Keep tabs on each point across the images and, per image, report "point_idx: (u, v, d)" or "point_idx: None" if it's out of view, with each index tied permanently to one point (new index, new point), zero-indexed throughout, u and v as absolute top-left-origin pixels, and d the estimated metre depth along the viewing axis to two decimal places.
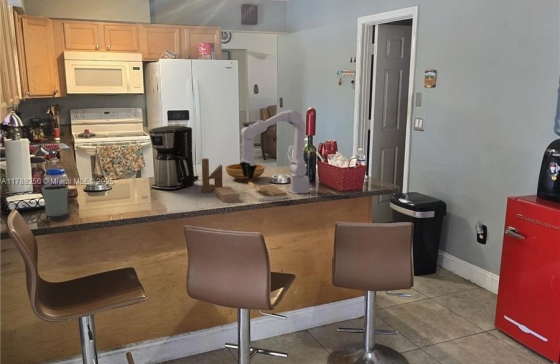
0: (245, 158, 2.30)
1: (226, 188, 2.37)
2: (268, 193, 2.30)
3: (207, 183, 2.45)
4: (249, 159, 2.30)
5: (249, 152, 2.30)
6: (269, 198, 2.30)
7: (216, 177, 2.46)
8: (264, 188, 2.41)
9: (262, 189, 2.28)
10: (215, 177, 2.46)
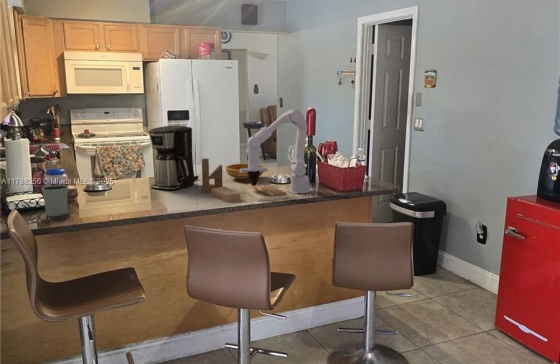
0: None
1: (223, 188, 2.37)
2: (268, 193, 2.30)
3: (207, 183, 2.45)
4: (248, 167, 2.38)
5: (248, 160, 2.37)
6: (269, 198, 2.30)
7: (216, 177, 2.46)
8: (264, 188, 2.41)
9: (262, 189, 2.28)
10: (215, 177, 2.46)
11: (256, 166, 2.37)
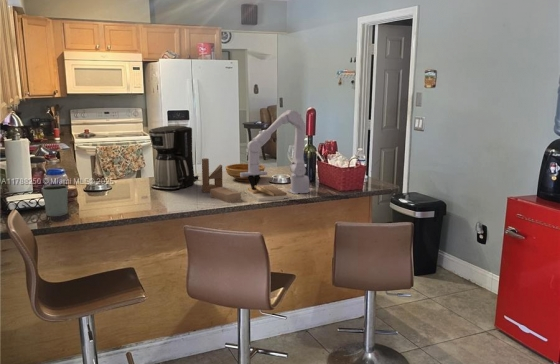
0: None
1: (222, 188, 2.36)
2: (268, 193, 2.30)
3: (207, 183, 2.45)
4: (248, 171, 2.39)
5: (248, 164, 2.38)
6: (269, 198, 2.30)
7: (216, 177, 2.46)
8: None
9: (262, 189, 2.28)
10: (215, 177, 2.46)
11: (256, 170, 2.37)
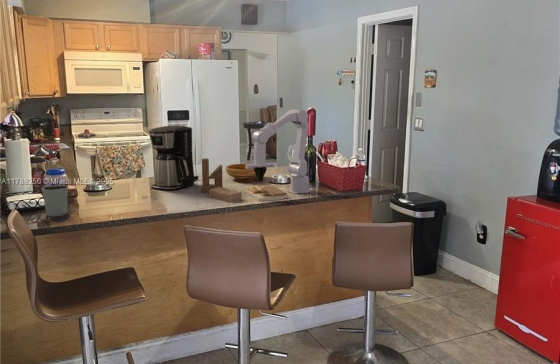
0: None
1: (221, 189, 2.36)
2: (268, 193, 2.30)
3: (207, 183, 2.45)
4: (254, 163, 2.29)
5: (254, 156, 2.28)
6: (269, 198, 2.30)
7: (216, 177, 2.46)
8: None
9: (262, 189, 2.28)
10: (215, 177, 2.46)
11: (262, 162, 2.28)
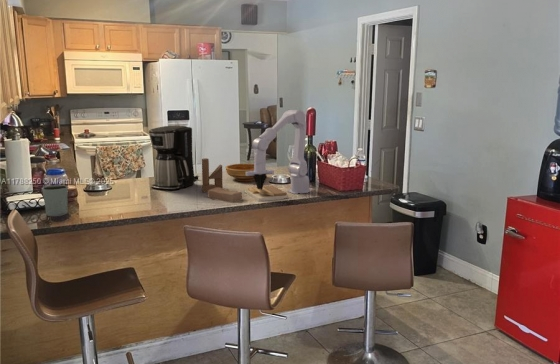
0: None
1: (219, 189, 2.35)
2: (268, 194, 2.30)
3: (207, 183, 2.45)
4: (254, 170, 2.30)
5: (254, 163, 2.29)
6: (269, 198, 2.30)
7: (216, 177, 2.46)
8: None
9: (261, 191, 2.28)
10: (215, 177, 2.46)
11: (262, 169, 2.28)
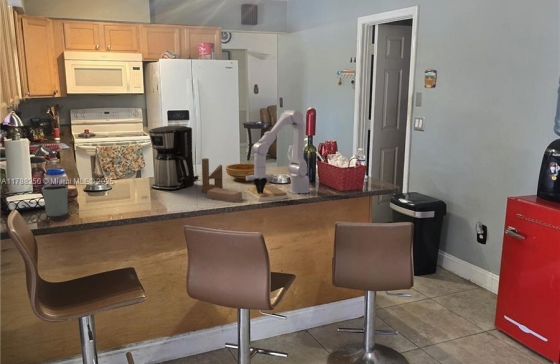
0: None
1: (218, 189, 2.35)
2: (268, 196, 2.30)
3: (207, 183, 2.45)
4: (254, 174, 2.30)
5: (254, 167, 2.29)
6: (269, 198, 2.30)
7: (216, 177, 2.46)
8: (264, 189, 2.41)
9: (261, 195, 2.29)
10: (215, 177, 2.46)
11: (263, 173, 2.29)
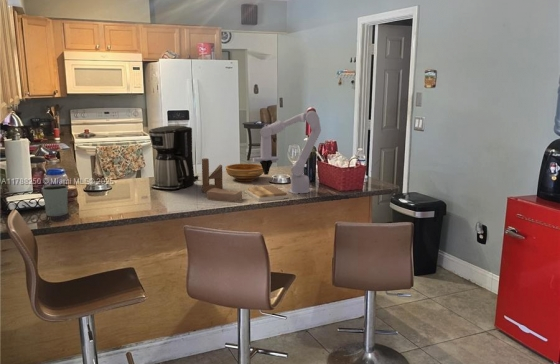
0: None
1: (217, 189, 2.34)
2: (268, 196, 2.30)
3: (207, 183, 2.45)
4: (261, 156, 2.44)
5: (261, 150, 2.43)
6: (269, 198, 2.30)
7: (216, 177, 2.46)
8: (264, 189, 2.41)
9: (261, 195, 2.29)
10: (215, 177, 2.46)
11: (268, 155, 2.43)
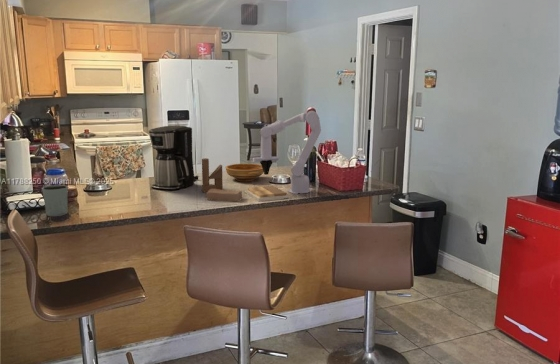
0: None
1: (216, 190, 2.33)
2: (268, 196, 2.30)
3: (207, 183, 2.45)
4: (261, 156, 2.44)
5: (261, 150, 2.44)
6: (269, 198, 2.30)
7: (216, 177, 2.46)
8: (264, 189, 2.41)
9: (261, 195, 2.29)
10: (215, 177, 2.46)
11: (268, 155, 2.43)
